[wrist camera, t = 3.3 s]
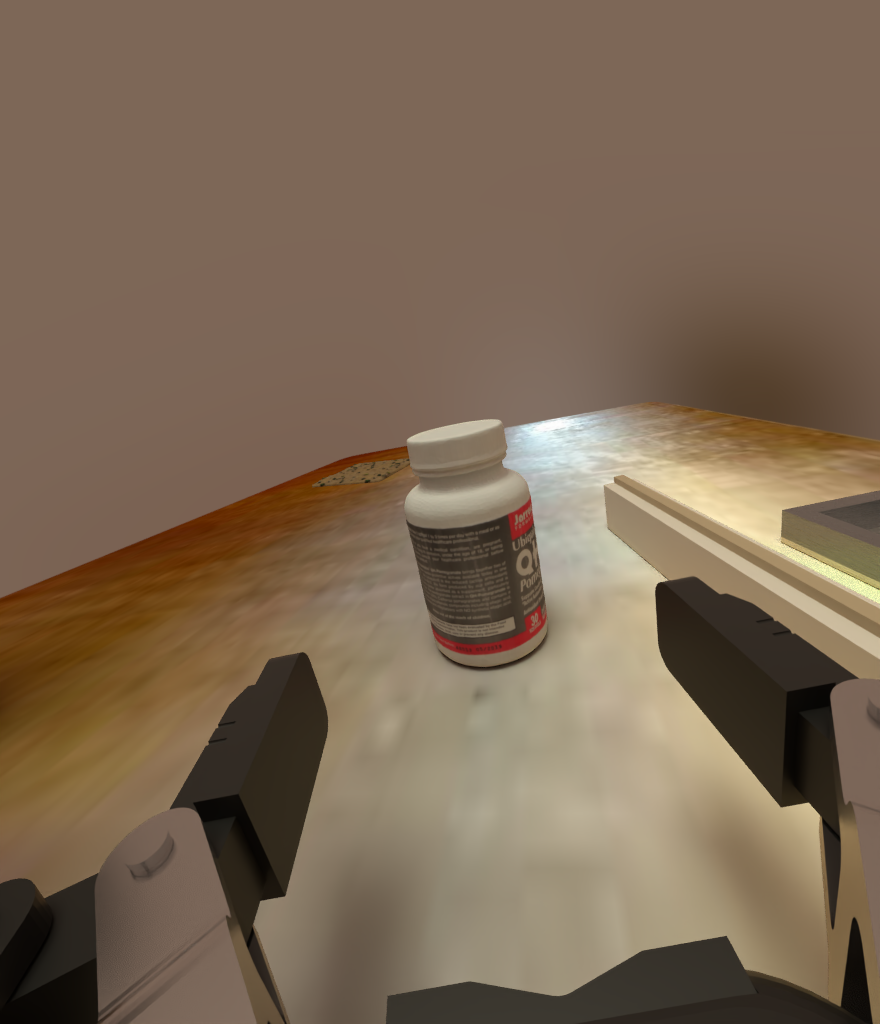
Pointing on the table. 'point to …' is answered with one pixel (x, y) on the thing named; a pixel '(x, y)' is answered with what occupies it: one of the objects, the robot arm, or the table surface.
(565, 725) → the table surface
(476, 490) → the pill bottle
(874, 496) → the index socket
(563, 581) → the table surface
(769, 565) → the door edge sill
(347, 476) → the cookie
